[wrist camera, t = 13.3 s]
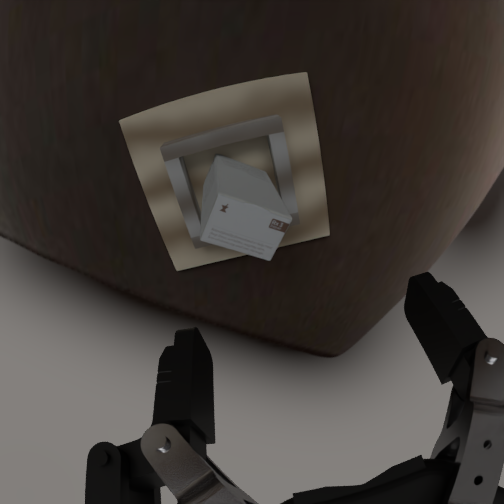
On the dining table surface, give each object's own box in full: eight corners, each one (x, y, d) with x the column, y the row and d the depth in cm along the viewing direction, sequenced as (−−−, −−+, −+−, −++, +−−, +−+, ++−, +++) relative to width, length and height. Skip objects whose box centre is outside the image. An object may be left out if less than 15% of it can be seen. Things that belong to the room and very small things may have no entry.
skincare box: (202, 186, 32) (193, 244, 22) (216, 149, 30) (214, 191, 20) (253, 204, 34) (269, 267, 24) (270, 169, 32) (294, 219, 22)
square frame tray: (121, 119, 28) (111, 124, 25) (304, 72, 27) (313, 71, 24) (177, 266, 39) (174, 283, 36) (327, 231, 38) (336, 245, 35)
